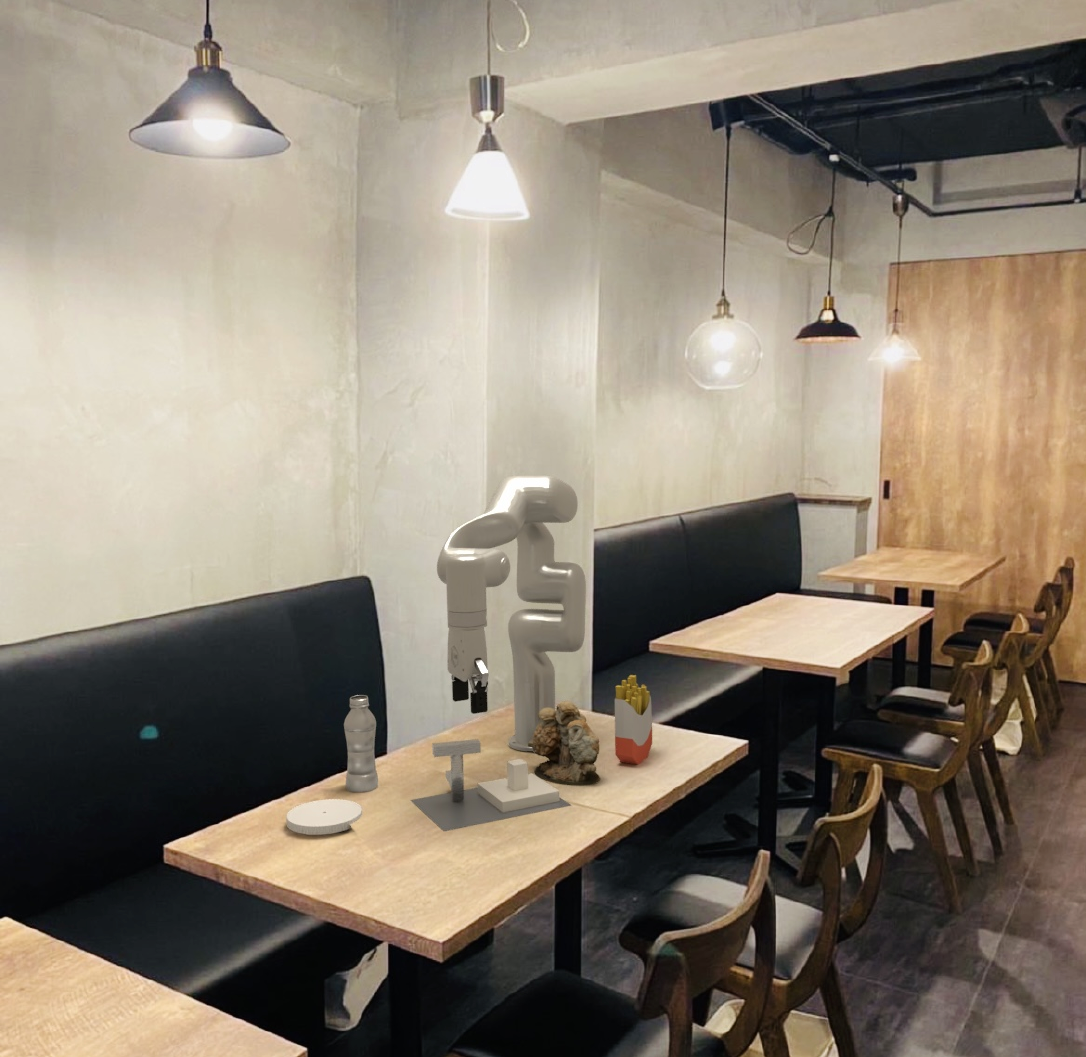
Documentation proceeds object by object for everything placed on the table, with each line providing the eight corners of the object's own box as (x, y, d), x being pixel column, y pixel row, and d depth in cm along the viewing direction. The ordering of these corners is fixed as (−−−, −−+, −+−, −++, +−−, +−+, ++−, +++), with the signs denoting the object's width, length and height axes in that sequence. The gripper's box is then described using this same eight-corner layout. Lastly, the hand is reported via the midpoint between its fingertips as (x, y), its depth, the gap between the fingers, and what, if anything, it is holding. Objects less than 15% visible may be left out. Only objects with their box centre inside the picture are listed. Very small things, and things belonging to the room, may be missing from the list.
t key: (429, 789, 211) (427, 734, 209) (474, 784, 213) (472, 730, 212) (435, 803, 203) (434, 747, 202) (482, 798, 205) (480, 742, 204)
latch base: (530, 784, 218) (530, 777, 217) (571, 812, 202) (571, 805, 201) (410, 807, 206) (410, 799, 206) (444, 839, 190) (443, 831, 190)
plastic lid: (363, 809, 207) (362, 796, 206) (362, 836, 193) (361, 823, 192) (290, 814, 204) (289, 801, 204) (283, 842, 191) (282, 829, 190)
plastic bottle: (339, 797, 213) (335, 699, 211) (360, 786, 219) (356, 691, 216) (365, 801, 210) (361, 703, 208) (385, 791, 216) (381, 695, 213)
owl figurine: (513, 782, 220) (511, 701, 218) (548, 767, 229) (546, 690, 227) (583, 799, 209) (582, 714, 207) (617, 783, 218) (616, 701, 216)
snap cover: (532, 782, 214) (531, 749, 214) (559, 801, 204) (558, 765, 203) (477, 793, 209) (476, 758, 208) (502, 812, 198) (501, 776, 198)
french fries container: (654, 753, 236) (653, 674, 234) (634, 768, 226) (633, 686, 225) (635, 751, 238) (634, 672, 236) (615, 765, 229) (614, 684, 227)
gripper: (433, 613, 208) (436, 698, 210) (465, 628, 192) (467, 720, 194) (469, 609, 211) (471, 693, 213) (503, 624, 195) (505, 714, 197)
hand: (469, 706), depth 203 cm, fingers open, 9 cm apart
